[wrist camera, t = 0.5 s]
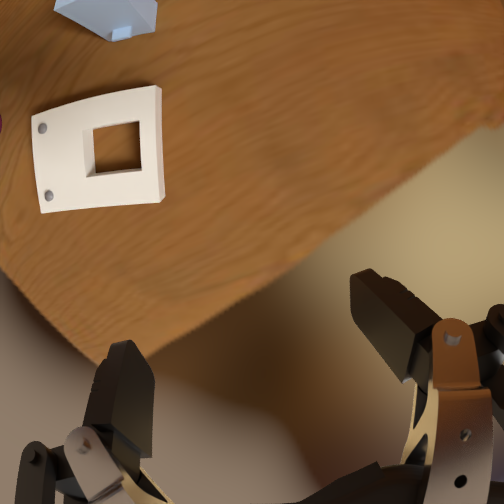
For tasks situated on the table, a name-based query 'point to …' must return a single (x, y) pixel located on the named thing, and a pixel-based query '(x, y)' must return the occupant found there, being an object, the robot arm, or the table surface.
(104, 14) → the block
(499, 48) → the table surface
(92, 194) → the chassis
